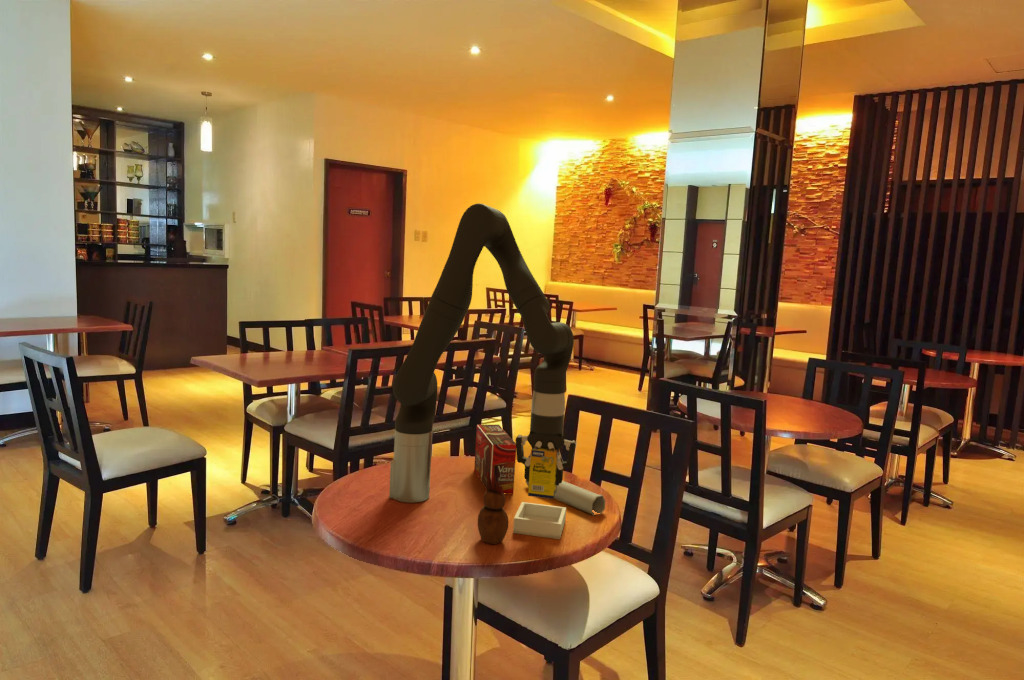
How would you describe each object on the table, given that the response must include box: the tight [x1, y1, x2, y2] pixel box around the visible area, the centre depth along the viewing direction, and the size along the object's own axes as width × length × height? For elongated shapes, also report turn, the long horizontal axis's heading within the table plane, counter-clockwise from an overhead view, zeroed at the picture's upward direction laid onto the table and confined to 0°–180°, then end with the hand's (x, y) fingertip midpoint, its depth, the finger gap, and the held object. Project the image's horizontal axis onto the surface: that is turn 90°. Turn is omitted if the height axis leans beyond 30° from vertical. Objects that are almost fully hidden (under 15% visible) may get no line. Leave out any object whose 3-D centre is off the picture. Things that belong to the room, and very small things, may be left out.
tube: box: [525, 479, 606, 517], centre depth 178 cm, size 5×5×25 cm
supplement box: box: [527, 447, 561, 500], centre depth 158 cm, size 6×6×11 cm
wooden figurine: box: [477, 472, 509, 545], centre depth 149 cm, size 7×6×15 cm
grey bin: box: [512, 501, 567, 540], centre depth 159 cm, size 11×11×4 cm
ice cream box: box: [473, 424, 517, 494], centre depth 188 cm, size 20×6×13 cm, turn 14°
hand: (543, 482), depth 158 cm, fingers closed on supplement box, 6 cm apart
